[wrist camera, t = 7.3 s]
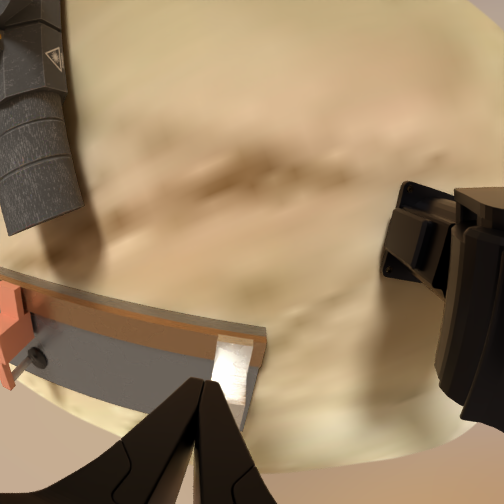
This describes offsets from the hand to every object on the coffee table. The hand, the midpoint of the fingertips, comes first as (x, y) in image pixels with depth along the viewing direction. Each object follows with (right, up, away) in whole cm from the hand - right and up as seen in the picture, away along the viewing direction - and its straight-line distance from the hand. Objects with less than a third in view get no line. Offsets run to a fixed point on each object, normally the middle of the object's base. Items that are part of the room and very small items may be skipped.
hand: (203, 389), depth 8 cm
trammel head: (-18, -2, +12) cm, 21 cm away
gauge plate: (-10, -4, +14) cm, 18 cm away
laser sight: (-14, +17, +8) cm, 24 cm away
